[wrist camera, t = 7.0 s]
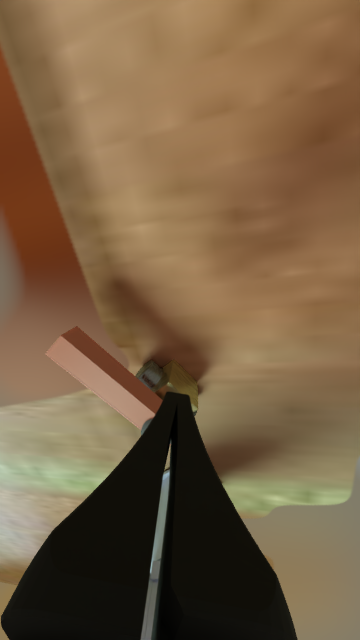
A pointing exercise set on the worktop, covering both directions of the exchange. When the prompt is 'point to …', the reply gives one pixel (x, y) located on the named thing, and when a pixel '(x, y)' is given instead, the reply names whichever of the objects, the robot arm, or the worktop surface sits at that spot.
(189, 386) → the valve
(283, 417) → the worktop surface
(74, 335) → the lever
